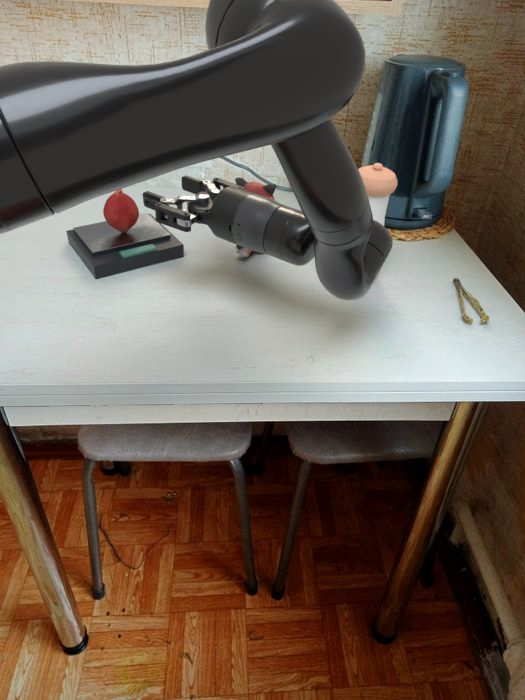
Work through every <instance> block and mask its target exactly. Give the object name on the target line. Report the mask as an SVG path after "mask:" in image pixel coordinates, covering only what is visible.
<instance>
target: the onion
mask: <svg viewBox="0 0 525 700" xmlns="http://www.w3.org/2000/svg"><path fill="white" fill-rule="evenodd" d="M102 213H103V214H102V215H103V217H104V219H105V221H107V223H108V224H109V225H110V226H111V227H113V228H115V229H116V230H118V231H120V232H121V233H126V232H128V230H129V229H131V228H132V227H133V226H134V225H135V224H136V222H137V220H138V218H139V214H140V211H139V207H138V205H137V202H136V201H135V200H134V199H133V198H132V197H131V196H130V195H128V194H126V193H125V192H124V191H123V188H122V189H119V190H116V191H114V193H113V192H112V194H110V196H108V198H107V199H106V200H105V203H104V206H103V210H102Z"/></svg>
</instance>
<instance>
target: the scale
mask: <svg viewBox="0 0 525 700" xmlns="http://www.w3.org/2000/svg"><path fill="white" fill-rule="evenodd" d="M66 236H67V242H68V244H69V245H70V247H71V248H72V250H74V252H75V253H76V255H77V256H78V257H79V259H80V260H81V261H82V263H83V264H84V265H85V266H86V268H87V269H88V271H89V272H90V273H91V275H92V276H93V277H94V278H95V279H96V280H97V279H102V278H105V277H109V276H113V275H117V274H122V273H125V272H129V271H133V270H137V269H140V268H145V267H148V266H152V265H157V264H161V263H165V262H169V261H172V260H176V259H180V258H184V257H185V247H184V246H185V245H184V243H183V242H182V241H180V240H179V238H178V237H176V236H175V235H174V234H173V233H172V232H171V231H170V230H169V229H168V228H166V227H165V225H164V224H161V223H158V222H156V217H155V216H154V215H153V214H151V213H148V212H144V213H139V218H138V220H137V222H136V224H135V225H134V226H133V227H132V228H131V229H129V230H128V232H126V233H121V232H120V231H118V230H116V229H115V228H113V227H111V226H110V225H109V224H108V223H107V221H106V220H105V221H99V222H94V223H89V224H86V225H80V226H75V227H73V228H72V229H68V230H66Z"/></svg>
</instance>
